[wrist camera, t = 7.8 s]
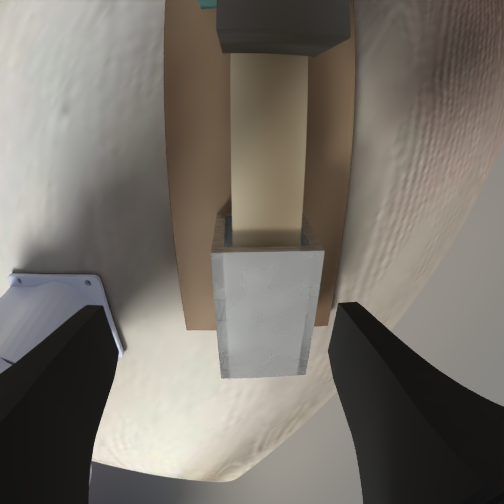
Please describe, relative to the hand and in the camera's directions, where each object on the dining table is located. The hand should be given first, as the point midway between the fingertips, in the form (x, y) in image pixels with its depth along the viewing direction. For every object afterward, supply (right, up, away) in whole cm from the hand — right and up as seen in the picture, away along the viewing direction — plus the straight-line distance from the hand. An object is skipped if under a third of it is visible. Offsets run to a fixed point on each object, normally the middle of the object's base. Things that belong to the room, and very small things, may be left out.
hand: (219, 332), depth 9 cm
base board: (+1, +8, +8) cm, 11 cm away
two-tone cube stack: (+2, +10, +4) cm, 11 cm away
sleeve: (+1, +1, +10) cm, 10 cm away
